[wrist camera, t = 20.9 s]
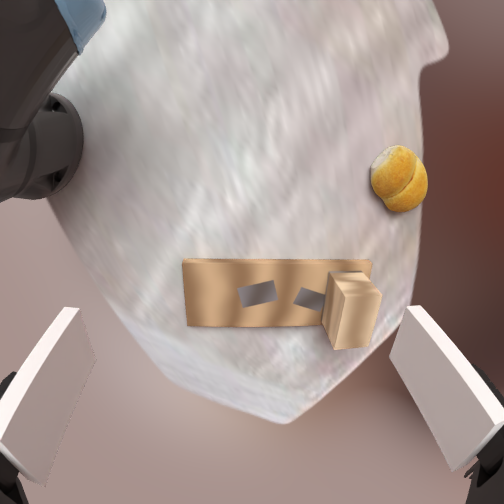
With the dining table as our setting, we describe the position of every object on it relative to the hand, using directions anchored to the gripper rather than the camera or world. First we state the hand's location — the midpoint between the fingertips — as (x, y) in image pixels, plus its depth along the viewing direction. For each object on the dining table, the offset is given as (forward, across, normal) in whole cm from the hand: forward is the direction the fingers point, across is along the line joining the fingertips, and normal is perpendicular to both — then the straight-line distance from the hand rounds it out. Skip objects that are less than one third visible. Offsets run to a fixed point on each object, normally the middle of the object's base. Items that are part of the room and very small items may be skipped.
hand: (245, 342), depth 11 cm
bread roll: (+29, +22, +3) cm, 36 cm away
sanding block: (+26, +15, -14) cm, 34 cm away
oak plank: (+28, +6, -14) cm, 32 cm away
